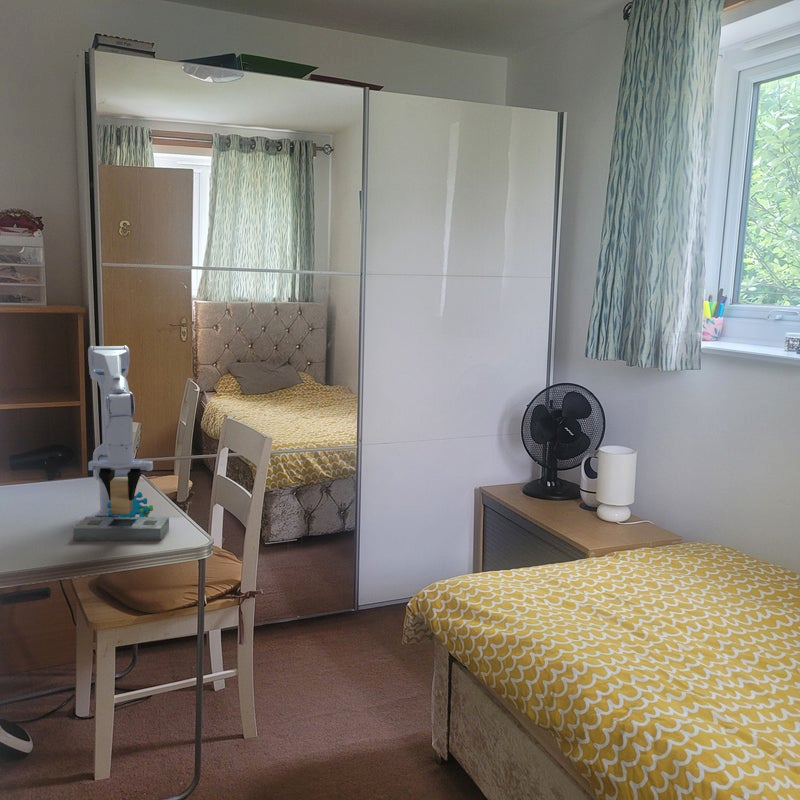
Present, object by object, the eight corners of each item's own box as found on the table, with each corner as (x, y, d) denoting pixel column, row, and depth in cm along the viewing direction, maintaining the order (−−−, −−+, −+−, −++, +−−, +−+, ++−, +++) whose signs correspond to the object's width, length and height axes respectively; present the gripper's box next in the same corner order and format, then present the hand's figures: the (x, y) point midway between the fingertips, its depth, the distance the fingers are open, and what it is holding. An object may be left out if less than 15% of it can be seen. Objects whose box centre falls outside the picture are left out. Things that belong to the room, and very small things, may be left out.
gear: (102, 520, 190) (111, 485, 196) (104, 531, 195) (112, 497, 201) (148, 525, 192) (156, 490, 198) (149, 536, 197) (156, 501, 203)
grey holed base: (86, 528, 189) (85, 516, 188) (169, 528, 190) (168, 516, 190) (73, 540, 180) (73, 527, 179) (160, 540, 181) (160, 528, 181)
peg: (115, 509, 186) (115, 477, 185) (132, 509, 186) (132, 477, 185) (111, 513, 182) (110, 481, 181) (128, 514, 182) (127, 481, 181)
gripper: (83, 446, 177) (85, 503, 179) (147, 447, 178) (148, 504, 180) (93, 440, 184) (94, 495, 186) (154, 441, 185) (155, 495, 187)
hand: (121, 499), depth 184 cm, fingers closed on peg, 4 cm apart
